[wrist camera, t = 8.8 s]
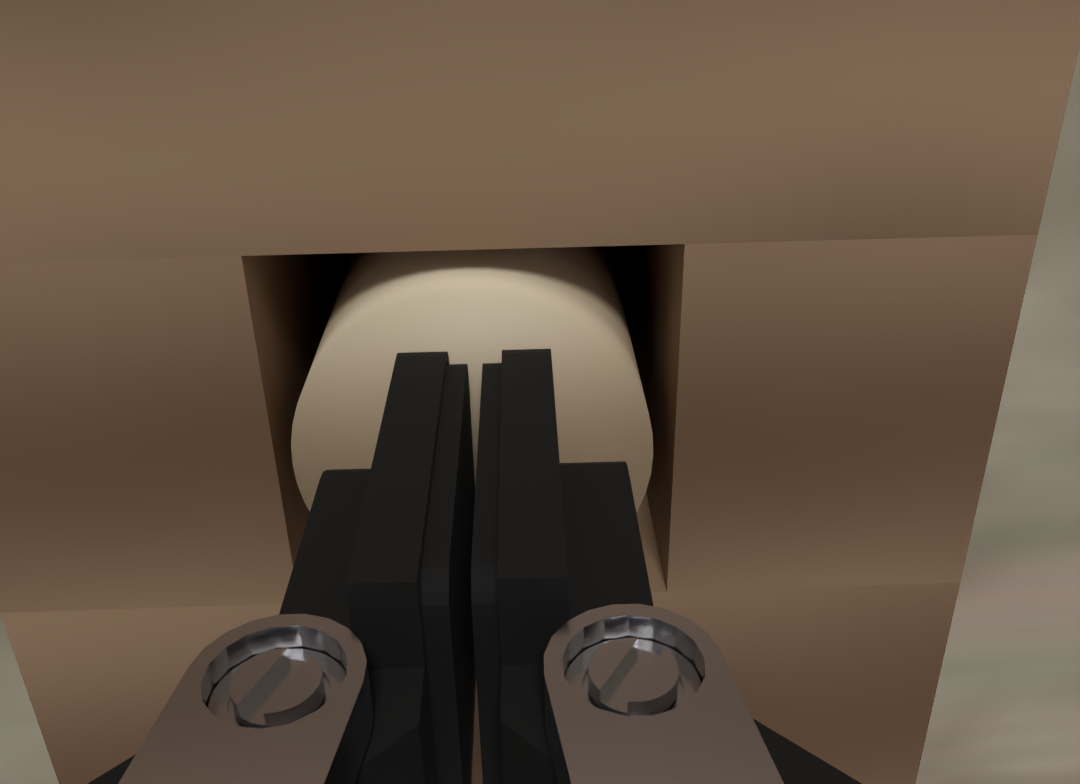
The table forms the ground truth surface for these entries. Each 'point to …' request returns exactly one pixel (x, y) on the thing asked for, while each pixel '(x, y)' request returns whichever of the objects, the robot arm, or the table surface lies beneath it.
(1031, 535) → the table surface
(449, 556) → the robot arm
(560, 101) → the press block
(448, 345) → the peg
